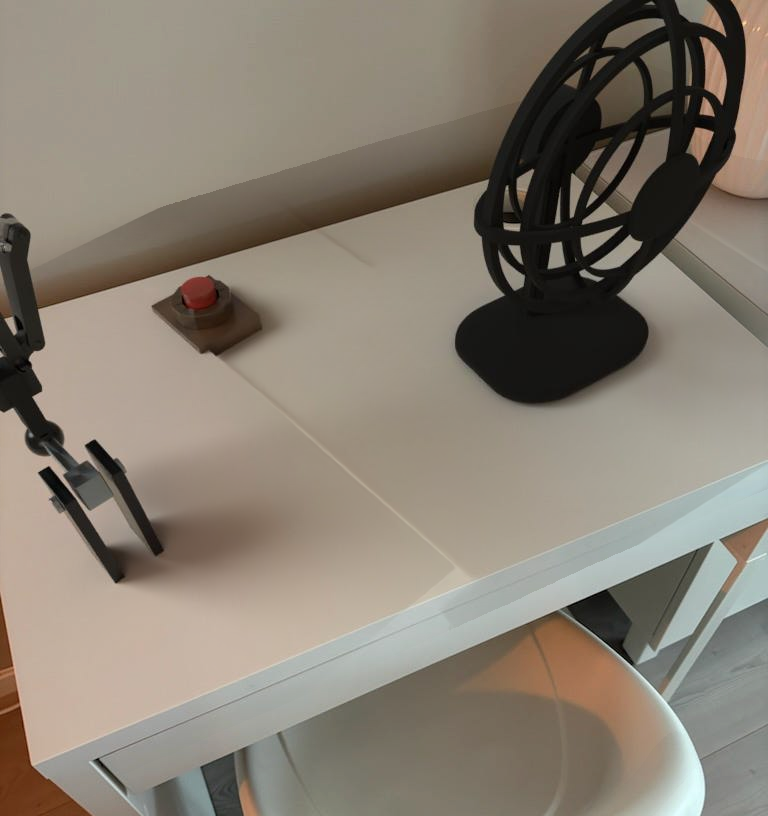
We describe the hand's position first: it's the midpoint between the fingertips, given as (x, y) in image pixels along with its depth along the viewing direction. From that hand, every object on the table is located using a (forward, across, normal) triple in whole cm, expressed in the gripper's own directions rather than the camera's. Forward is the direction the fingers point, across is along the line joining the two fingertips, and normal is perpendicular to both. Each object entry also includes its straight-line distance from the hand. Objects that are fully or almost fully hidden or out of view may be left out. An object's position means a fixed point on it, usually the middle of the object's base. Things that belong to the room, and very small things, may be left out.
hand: (36, 425), depth 64 cm
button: (+7, +23, +13) cm, 27 cm away
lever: (+2, 0, -5) cm, 5 cm away
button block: (+10, +23, +13) cm, 28 cm away
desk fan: (+11, +48, -17) cm, 52 cm away
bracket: (+11, 0, -9) cm, 14 cm away
